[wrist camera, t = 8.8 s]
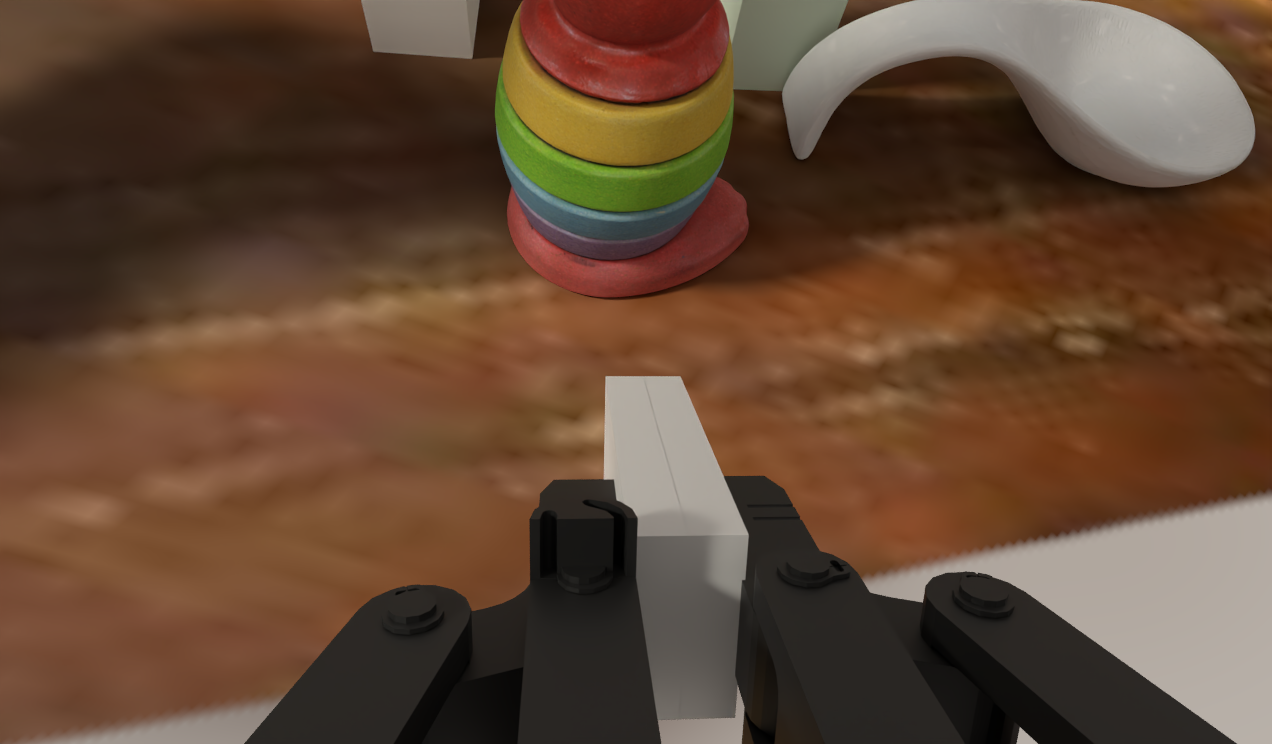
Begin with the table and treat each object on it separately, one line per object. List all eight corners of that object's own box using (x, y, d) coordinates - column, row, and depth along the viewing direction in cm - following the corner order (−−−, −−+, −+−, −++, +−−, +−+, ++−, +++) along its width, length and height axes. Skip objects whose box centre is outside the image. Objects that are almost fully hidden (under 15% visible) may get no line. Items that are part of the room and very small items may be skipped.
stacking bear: (764, 228, 39) (910, -151, 24) (612, 353, 35) (664, -1, 20) (608, 99, 42) (643, -317, 26) (451, 201, 38) (384, -215, 23)
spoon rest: (1160, 59, 48) (1253, -53, 42) (1244, 222, 43) (1366, 122, 36) (766, 54, 45) (801, -67, 39) (805, 228, 40) (853, 121, 34)
